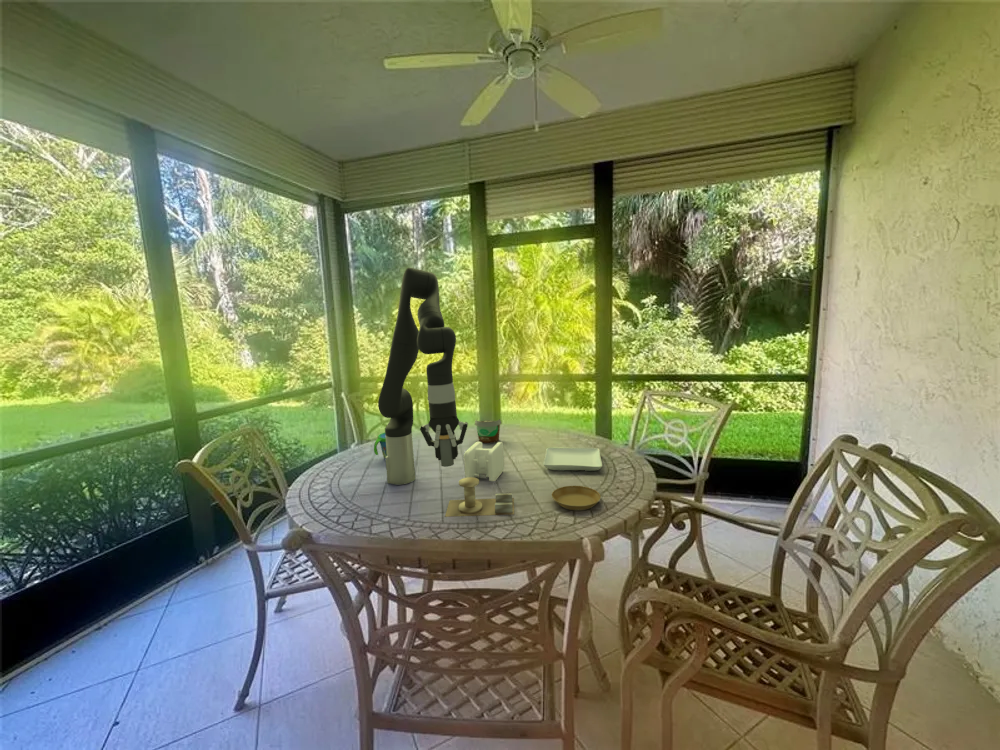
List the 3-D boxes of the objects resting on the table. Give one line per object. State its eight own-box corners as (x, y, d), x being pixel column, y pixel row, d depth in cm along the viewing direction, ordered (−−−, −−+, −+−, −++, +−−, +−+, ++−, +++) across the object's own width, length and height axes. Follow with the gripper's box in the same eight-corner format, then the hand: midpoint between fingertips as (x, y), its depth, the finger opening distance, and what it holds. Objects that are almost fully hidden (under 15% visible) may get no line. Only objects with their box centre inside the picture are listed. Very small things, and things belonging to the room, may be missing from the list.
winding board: (445, 520, 125) (444, 508, 125) (450, 503, 136) (449, 492, 135) (514, 518, 125) (514, 506, 124) (513, 501, 136) (513, 490, 135)
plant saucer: (567, 489, 143) (567, 481, 143) (609, 500, 134) (609, 492, 134) (542, 506, 132) (542, 497, 132) (586, 519, 123) (586, 510, 122)
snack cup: (380, 465, 173) (378, 441, 172) (370, 459, 181) (367, 435, 180) (415, 456, 183) (413, 432, 181) (404, 450, 191) (402, 428, 190)
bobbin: (457, 513, 126) (455, 486, 125) (460, 503, 133) (458, 477, 132) (481, 513, 126) (480, 485, 125) (482, 502, 133) (481, 476, 132)
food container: (473, 444, 196) (471, 422, 195) (475, 440, 202) (474, 419, 201) (499, 444, 194) (498, 422, 193) (502, 440, 200) (501, 419, 199)
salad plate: (599, 455, 175) (599, 446, 175) (602, 474, 154) (602, 465, 154) (546, 454, 179) (546, 446, 178) (542, 473, 158) (542, 464, 158)
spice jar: (441, 462, 126) (438, 432, 125) (455, 461, 126) (453, 431, 125) (439, 467, 122) (436, 436, 120) (454, 466, 122) (451, 435, 120)
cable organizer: (493, 486, 148) (491, 453, 146) (464, 484, 151) (462, 452, 149) (505, 470, 162) (503, 440, 160) (478, 468, 165) (476, 439, 163)
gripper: (468, 395, 125) (472, 453, 127) (419, 398, 125) (424, 456, 127) (466, 400, 117) (471, 461, 120) (413, 404, 118) (419, 465, 120)
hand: (447, 458), depth 124 cm, fingers closed on spice jar, 3 cm apart
